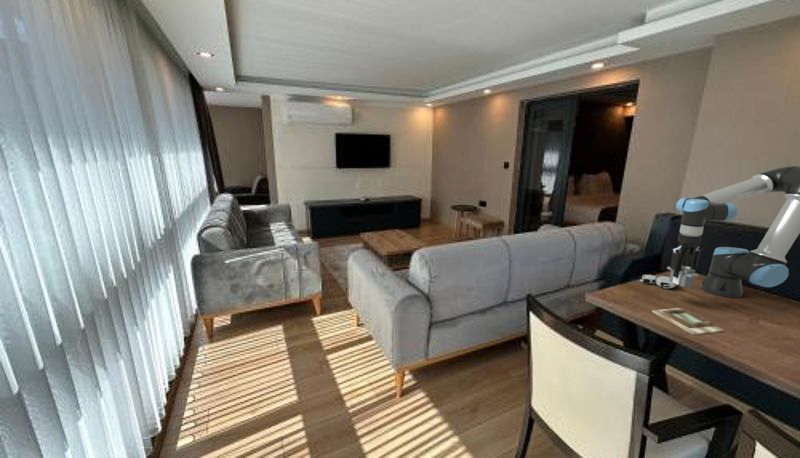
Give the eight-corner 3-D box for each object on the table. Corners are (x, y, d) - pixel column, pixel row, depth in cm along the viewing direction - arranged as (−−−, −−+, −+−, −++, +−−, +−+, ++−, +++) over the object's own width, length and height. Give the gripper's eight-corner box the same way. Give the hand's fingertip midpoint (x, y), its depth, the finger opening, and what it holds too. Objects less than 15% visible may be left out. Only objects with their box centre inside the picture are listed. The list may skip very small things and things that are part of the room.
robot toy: (638, 285, 171) (674, 292, 160) (639, 277, 170) (675, 284, 159) (642, 279, 179) (677, 285, 168) (643, 271, 178) (678, 277, 168)
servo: (672, 278, 152) (675, 261, 150) (696, 288, 141) (700, 269, 139) (665, 279, 151) (668, 261, 149) (688, 289, 141) (692, 270, 138)
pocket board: (679, 309, 144) (680, 304, 143) (723, 331, 126) (725, 326, 126) (652, 312, 142) (653, 307, 141) (693, 334, 124) (694, 329, 124)
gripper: (698, 230, 145) (688, 278, 151) (665, 233, 143) (656, 281, 149) (716, 235, 138) (705, 284, 144) (681, 237, 136) (671, 288, 141)
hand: (680, 282), depth 146 cm, fingers closed on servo, 4 cm apart
